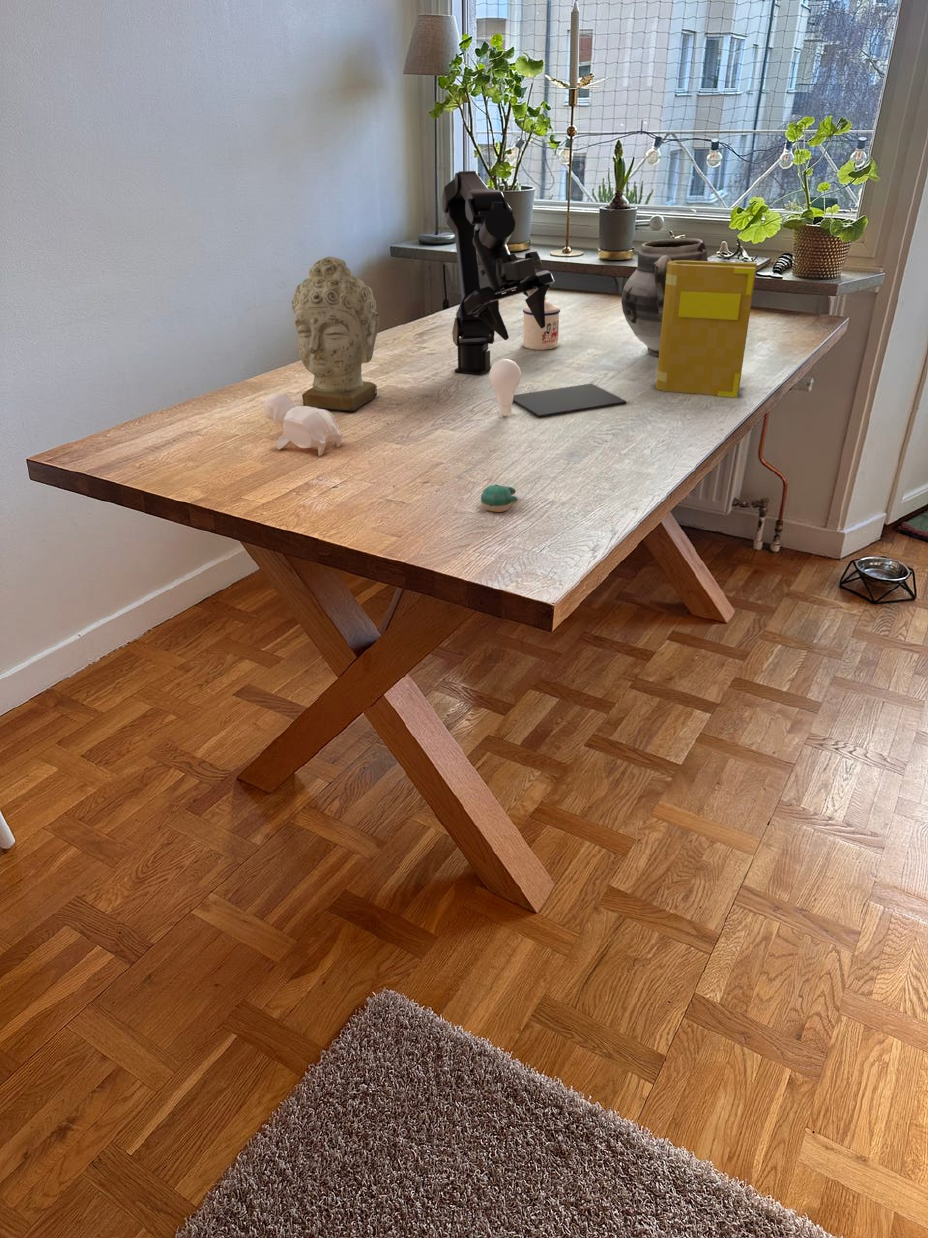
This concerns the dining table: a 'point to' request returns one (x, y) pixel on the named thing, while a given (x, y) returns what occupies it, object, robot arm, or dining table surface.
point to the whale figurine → (498, 498)
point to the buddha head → (335, 335)
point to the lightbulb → (505, 383)
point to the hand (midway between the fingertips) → (525, 333)
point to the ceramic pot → (654, 285)
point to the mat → (566, 400)
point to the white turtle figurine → (302, 424)
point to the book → (704, 326)
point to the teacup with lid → (536, 335)
